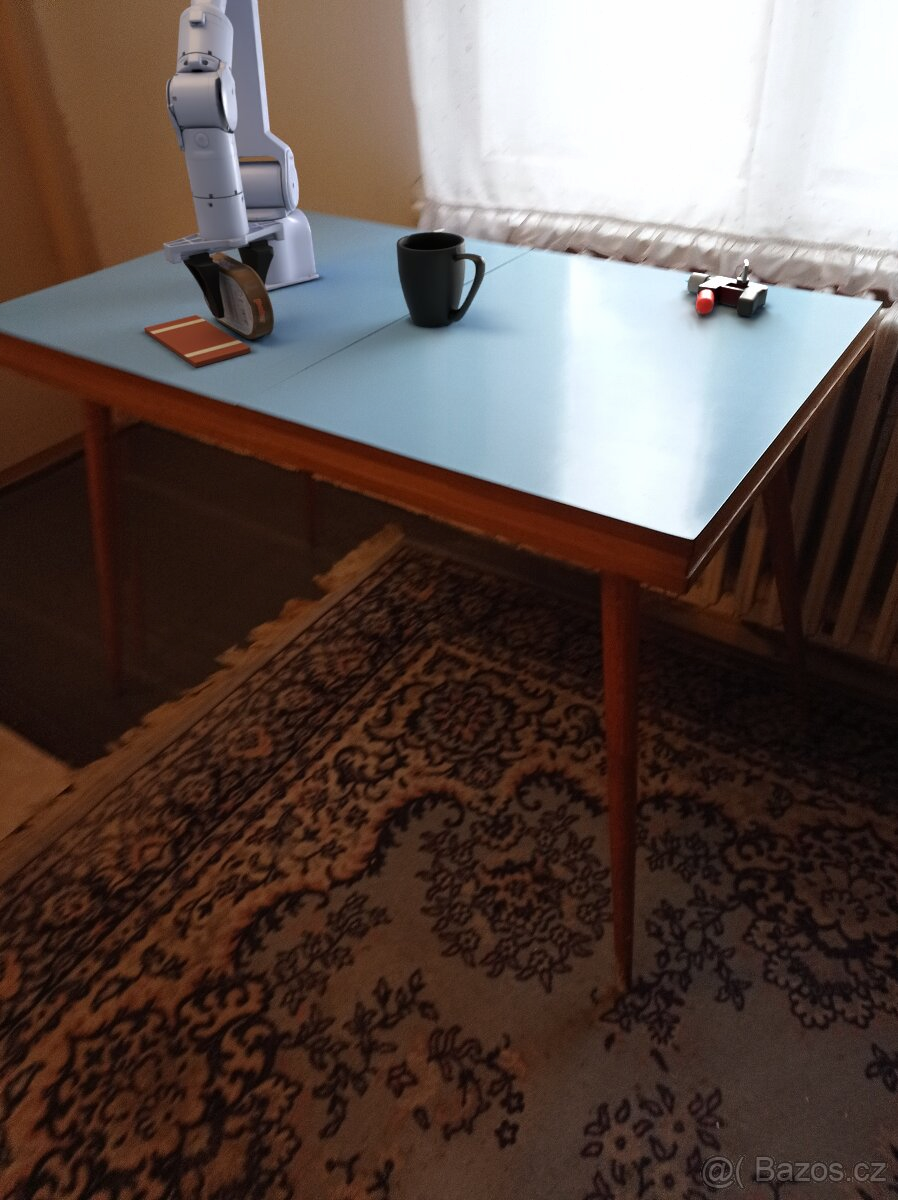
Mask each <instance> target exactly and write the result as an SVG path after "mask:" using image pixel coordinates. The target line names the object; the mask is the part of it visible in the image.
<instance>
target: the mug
mask: <svg viewBox="0 0 898 1200" xmlns="http://www.w3.org/2000/svg"><path fill="white" fill-rule="evenodd" d="M396 256H397V272H398V278H399V283H400V286H401V292H402V295H403V299H404V301H405V304H406V307H407V309H408V312H409V315H410V319H411V322H412V323H413V324H414V325H417V326H419V327H425V328H438V327H445V326H448V325H451V324H452V323H455V322H458V321H460V320H461V319H462V318H464V316H466V313H467V312H468V310H469V308H470V307H471V305H472V303H473V301H474V299H475V297H476V296H477V293H478V291H479V289H480V287H481V285H482V284H483V283H482V282H483V281H484V277H485V275H486V260H485V259H484V257H483V256H482V255H479V254H476V253H469V252H467V253H466V241H465V238H464V237H463V236H461V235H459V234H456V233H452V232H445V231H442V232H433V231H426V232H425V231H424V232H418V233H417V232H416V233H412V234H408V235H405V236H403V237H400V238H399V239H398V240H397V241H396ZM466 260H469V261H472V263H473V264H474V267H475V268H474V269H475V270H474V278H473V281H472V284H471V286H470V289H469V291H468V293H467V295H466V297H465V299H464V300H463V303H462V305H461V306H460V302H461V299H462V294H463V290H464V286H465V285H464V284H465V277H466Z"/></svg>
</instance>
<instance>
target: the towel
mask: <svg viewBox="0 0 898 1200" xmlns="http://www.w3.org/2000/svg"><path fill="white" fill-rule="evenodd" d="M143 330H144V333H145V334H147V335H148V336H150V338H152V339H154V341H155V340H156V341H157V342H158V343H160V344H161V345H162V346H164V347H166V348H167V349H168V350H170V351H171V352H173V353H174V354H176V355H177V356H178V357H180V358H181V359H183V360H184V361H186V362H187V363H189V364H190V365H192V366H193V367H194V368H201V367H203V366H207V365H210V364H214V363H218V362H220V361H225V360H228V359H232V358H235V357H239V356H242V355H246V354H249V353H252V350H251V347H250V346H249V345H247V344H245V343H244V342H243V341H241V340H240V339H237V338H235V337H233V336H232V335H230V334H228V333H227V332H225V331H223V330H222V329H220V328H218V327H217V326H215V325H213V324H212V323H211V322H209V321H207V320H206V319H205V318H202V317H200V316H198V315H197V314H194V315H191V316H185V317H182V318H177V319H175V320H171V321H167V322H163V323H162V322H161V323H159V324H155V325H150V326H146V327H144V328H143Z"/></svg>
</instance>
